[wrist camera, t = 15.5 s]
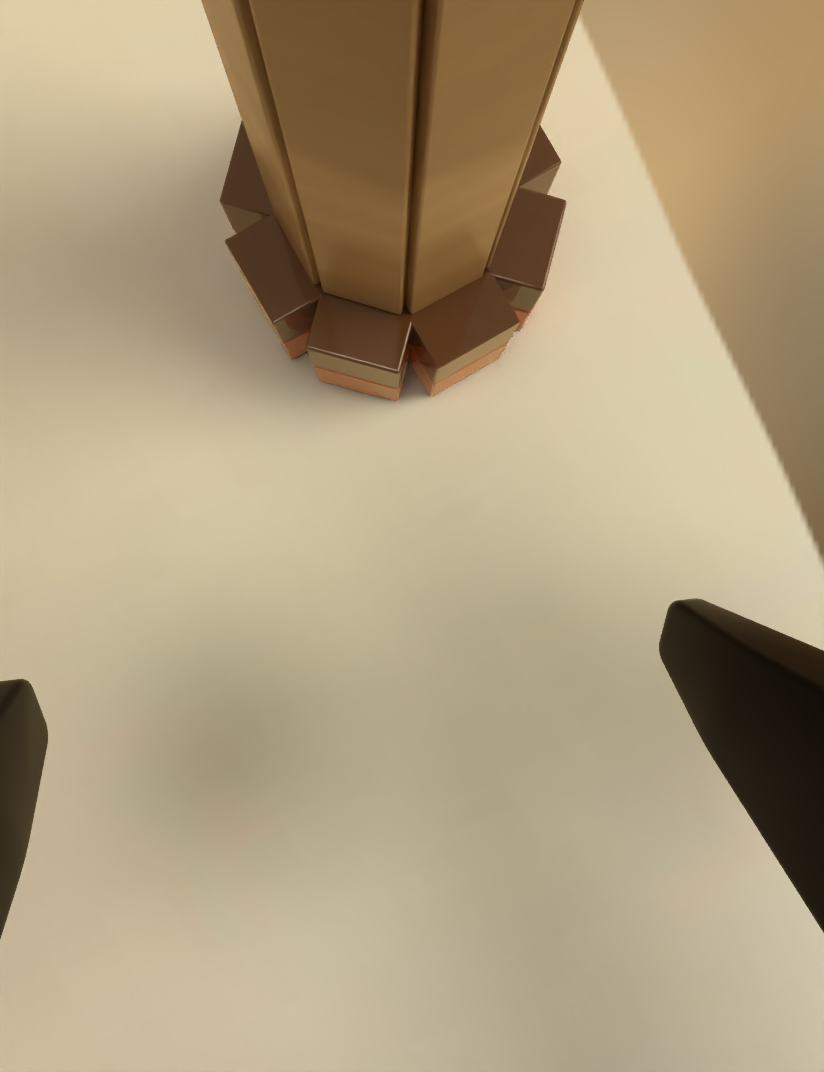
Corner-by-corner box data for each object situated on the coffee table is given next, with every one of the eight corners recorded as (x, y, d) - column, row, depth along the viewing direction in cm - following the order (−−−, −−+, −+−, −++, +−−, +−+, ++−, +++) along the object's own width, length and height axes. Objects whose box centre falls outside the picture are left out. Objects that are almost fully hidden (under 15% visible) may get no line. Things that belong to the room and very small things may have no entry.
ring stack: (564, 160, 20) (596, 87, 17) (494, 428, 20) (515, 405, 17) (293, 84, 20) (275, -5, 17) (219, 354, 20) (186, 316, 17)
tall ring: (543, 244, 17) (916, -495, 5) (348, 349, 17) (245, -165, 5) (436, 50, 17) (549, -1154, 5) (239, 151, 17) (-141, -858, 5)
